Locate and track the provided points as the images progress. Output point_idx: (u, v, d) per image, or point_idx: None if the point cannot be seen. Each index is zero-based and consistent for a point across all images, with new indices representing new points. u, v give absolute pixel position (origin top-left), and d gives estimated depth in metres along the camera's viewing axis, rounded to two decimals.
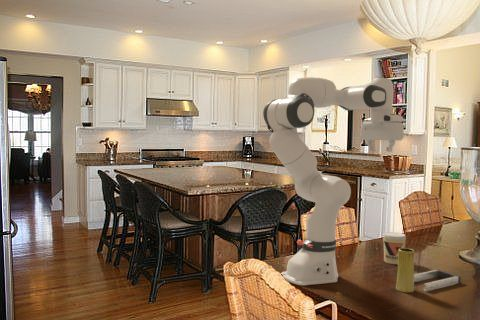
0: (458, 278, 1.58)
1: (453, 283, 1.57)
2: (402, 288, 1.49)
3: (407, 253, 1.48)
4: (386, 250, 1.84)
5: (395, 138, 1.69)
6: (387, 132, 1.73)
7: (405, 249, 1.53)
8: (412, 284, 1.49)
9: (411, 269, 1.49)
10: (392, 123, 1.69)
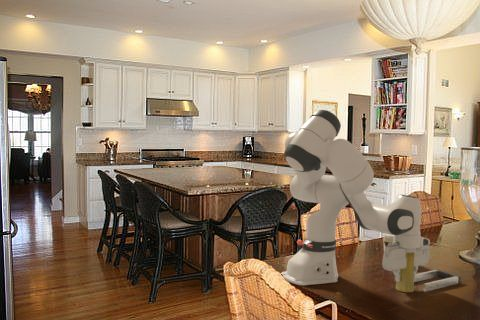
0: (458, 278, 1.58)
1: (453, 283, 1.57)
2: (402, 288, 1.49)
3: (407, 253, 1.48)
4: None
5: (427, 262, 1.54)
6: (419, 257, 1.51)
7: None
8: (412, 284, 1.49)
9: (411, 269, 1.49)
10: (427, 246, 1.52)
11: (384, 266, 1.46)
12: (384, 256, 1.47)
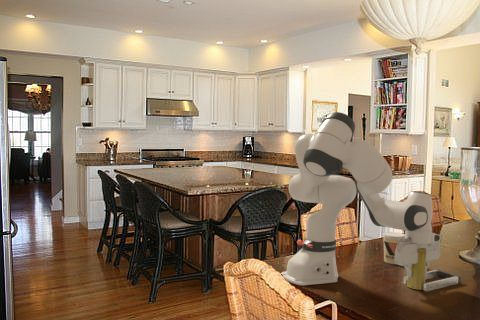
0: (458, 278, 1.58)
1: (453, 283, 1.57)
2: (413, 285, 1.51)
3: (419, 251, 1.51)
4: (386, 250, 1.84)
5: (438, 258, 1.56)
6: (430, 252, 1.54)
7: None
8: (423, 282, 1.51)
9: (423, 267, 1.51)
10: (438, 242, 1.55)
11: (396, 261, 1.49)
12: (396, 251, 1.49)
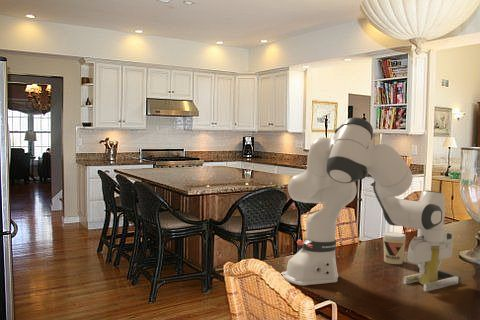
0: (458, 278, 1.58)
1: (453, 283, 1.57)
2: (426, 282, 1.55)
3: (432, 248, 1.54)
4: (386, 250, 1.84)
5: (450, 256, 1.59)
6: (442, 250, 1.57)
7: None
8: (436, 279, 1.54)
9: (435, 264, 1.54)
10: (450, 241, 1.58)
11: (409, 259, 1.52)
12: (409, 249, 1.52)
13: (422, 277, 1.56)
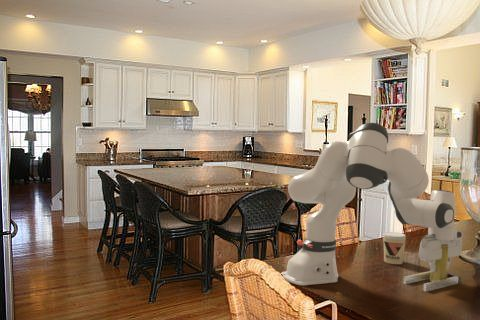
0: (458, 278, 1.58)
1: (453, 283, 1.57)
2: (436, 280, 1.58)
3: (441, 247, 1.57)
4: (386, 250, 1.84)
5: (460, 253, 1.62)
6: (453, 248, 1.60)
7: None
8: (446, 276, 1.58)
9: (445, 262, 1.57)
10: (460, 239, 1.61)
11: (421, 257, 1.55)
12: (420, 247, 1.55)
13: (432, 275, 1.59)
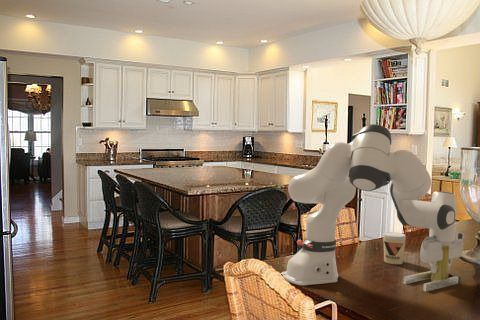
0: (458, 278, 1.58)
1: (453, 283, 1.57)
2: None
3: (442, 247, 1.57)
4: (386, 250, 1.84)
5: None
6: (454, 250, 1.61)
7: None
8: (447, 276, 1.58)
9: (446, 262, 1.58)
10: (461, 240, 1.61)
11: (422, 258, 1.56)
12: (422, 249, 1.56)
13: (434, 275, 1.60)
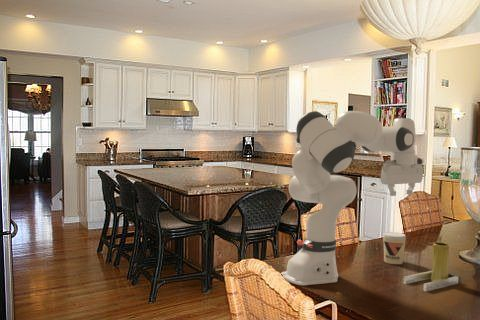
0: (458, 278, 1.58)
1: (453, 283, 1.57)
2: None
3: (442, 247, 1.57)
4: (386, 250, 1.84)
5: (421, 180, 1.71)
6: (414, 175, 1.69)
7: (439, 243, 1.62)
8: (447, 276, 1.58)
9: (446, 262, 1.58)
10: (421, 166, 1.69)
11: (382, 181, 1.63)
12: (382, 172, 1.64)
13: (434, 275, 1.60)
